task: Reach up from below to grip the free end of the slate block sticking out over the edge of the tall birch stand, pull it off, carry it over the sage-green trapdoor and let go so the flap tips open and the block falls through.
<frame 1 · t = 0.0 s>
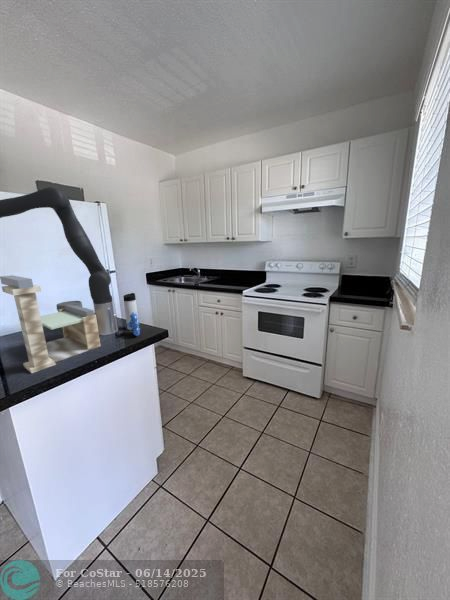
tall stand: (37, 364, 97), on the countertop
grapes: (134, 335, 127), on the countertop
slate block: (16, 285, 93), point 32 cm above the countertop, touching tall stand
travel mug: (133, 328, 137), on the countertop
trapdoor: (62, 315, 111), point 15 cm above the countertop, hinge at 0.0°
grey rounded piece: (73, 328, 140), on the countertop
trapdoor frame: (80, 342, 118), on the countertop
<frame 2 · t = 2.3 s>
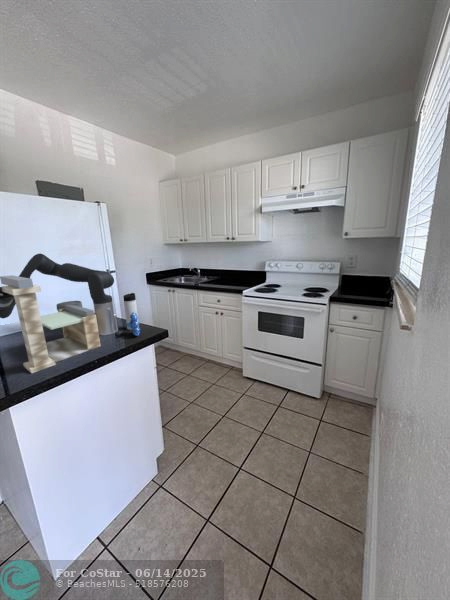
hand: (7, 283, 108), 31 cm above the countertop, tool pointing upward, fingers open, 8 cm apart
nothing on the countertop moved.
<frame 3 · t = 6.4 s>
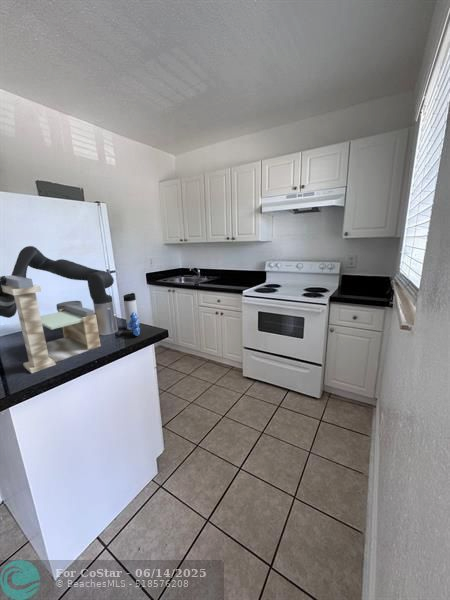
hand: (12, 277, 94), 35 cm above the countertop, tool pointing upward, fingers closed on slate block, 4 cm apart
slate block: (16, 285, 93), point 32 cm above the countertop, touching gripper, tall stand
everything else where it was.
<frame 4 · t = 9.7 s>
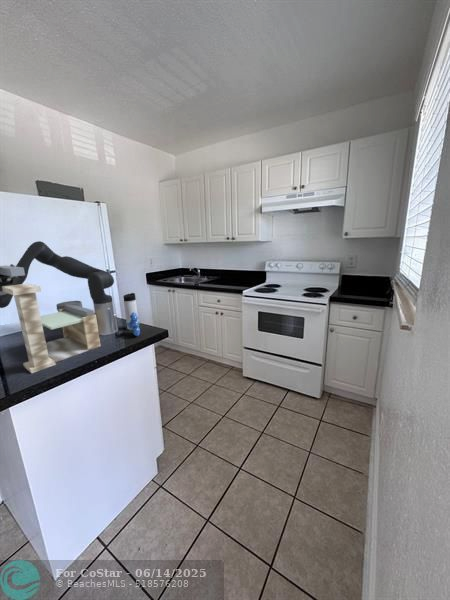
hand: (5, 266, 100), 39 cm above the countertop, tool pointing upward, fingers closed on slate block, 4 cm apart
slate block: (9, 274, 98), point 36 cm above the countertop, touching gripper
everything else where it was.
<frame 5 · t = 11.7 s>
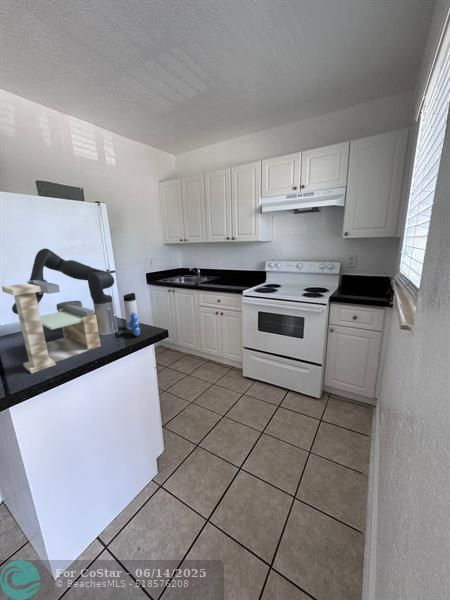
hand: (39, 282, 105), 31 cm above the countertop, tool pointing upward, fingers closed on slate block, 4 cm apart
slate block: (43, 289, 104), point 28 cm above the countertop, touching gripper
everything else where it was.
when the fingers open (25 cm above the countertop, at t = 13.0 s): slate block drops 13 cm and tips over, resting on trapdoor.
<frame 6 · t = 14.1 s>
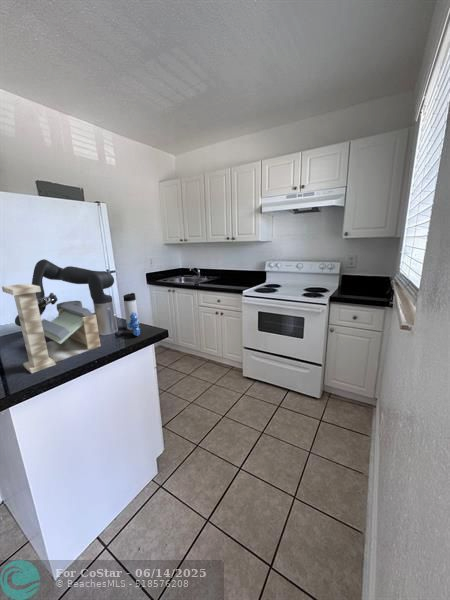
hand: (41, 296, 107), 25 cm above the countertop, tool pointing upward, fingers open, 8 cm apart
slate block: (54, 330, 109), point 9 cm above the countertop, tilted 31°, touching trapdoor
trapdoor: (63, 321, 111), point 13 cm above the countertop, hinge at -30.6°, touching slate block
everything else where it was.
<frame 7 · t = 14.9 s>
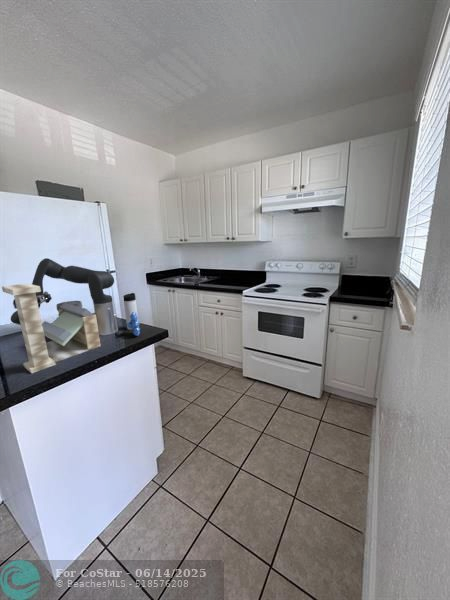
hand: (35, 294, 111), 25 cm above the countertop, tool pointing upward, fingers open, 8 cm apart
slate block: (56, 332, 110), point 8 cm above the countertop, tilted 37°, touching trapdoor
trapdoor: (64, 322, 111), point 12 cm above the countertop, hinge at -37.2°, touching slate block
everything else where it was.
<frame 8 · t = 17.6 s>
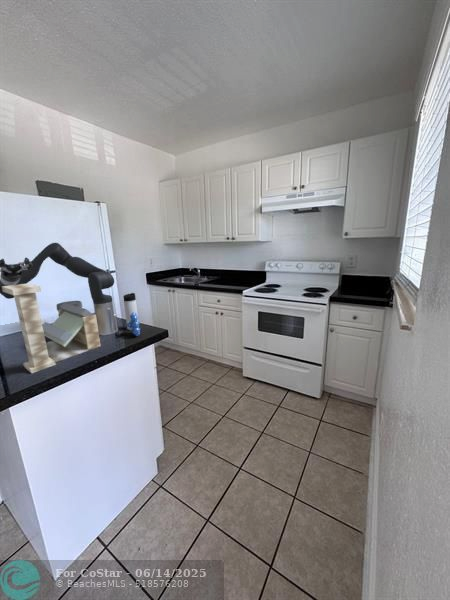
hand: (15, 259, 111), 41 cm above the countertop, tool pointing upward, fingers open, 8 cm apart
trapdoor: (64, 322, 112), point 12 cm above the countertop, hinge at -40.1°, touching slate block
everything else where it was.
at the end: slate block point 7.6 cm above the countertop; slate block inside the target area on the trapdoor frame (0.4 cm from its centre), point 7.6 cm above the trapdoor frame's base; the gripper is holding nothing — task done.
